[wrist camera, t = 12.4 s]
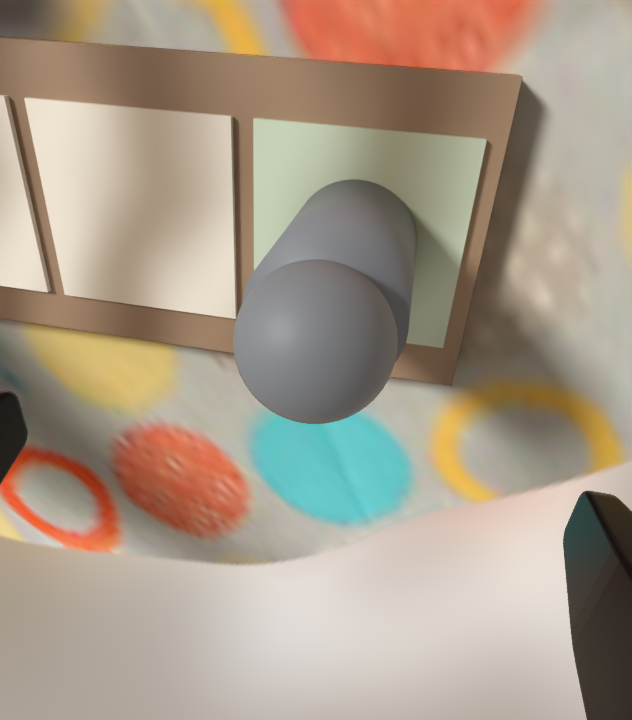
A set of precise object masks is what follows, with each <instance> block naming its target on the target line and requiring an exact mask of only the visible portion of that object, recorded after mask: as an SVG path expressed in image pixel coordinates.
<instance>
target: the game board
mask: <svg viewBox="0 0 632 720" xmlns="http://www.w3.org/2000/svg"><path fill="white" fill-rule="evenodd" d="M521 82H522V76H519V75H515V74H501V73H488V72H474V71H461V70H447V69H434V68H420V67H407V66H393V65H380V64H366V63H353V62H339V61H325V60H312V59H298V58H285V57H271V56H258V55H244V54H231V53H217V52H204V51H190V50H177V49H163V48H150V47H136V46H123V45H109V44H96V43H82V42H69V41H55V40H42V39H28V38H15V37H1V36H0V318H3V319H10V320H16V321H23V322H30V323H36V324H43V325H50V326H56V327H63V328H70V329H76V330H83V331H90V332H96V333H103V334H110V335H116V336H123V337H130V338H136V339H143V340H150V341H156V342H163V343H170V344H176V345H183V346H190V347H197V348H203V349H210V350H217V351H223V352H230V353H234V348H233V336H234V328H235V323H236V319H237V315H238V313H239V310H240V308H241V306H242V304H243V297H244V292H245V288H246V286H247V283H248V280H249V279H250V277H251V275H252V273H253V272H254V270H255V269H256V268H257V266H258V265H259V264H260V262H261V261H262V260H263V258H264V257H265V256H266V254H267V253H268V252H269V250H270V249H271V248H272V247H273V245H274V244H275V243H276V241H277V240H278V239H279V237H280V236H281V235H282V233H283V232H284V231H285V229H286V228H287V227H288V225H289V224H290V223H291V221H292V220H293V219H294V218H295V216H296V215H297V214H298V212H299V211H300V210H301V208H302V207H303V206H304V204H305V203H306V202H307V200H308V199H309V198H310V197H311V196H312V195H313V194H314V193H316V192H317V191H318V190H320V189H321V188H323V187H325V186H327V185H329V184H332V183H334V182H338V181H342V180H350V179H356V180H365V181H370V182H373V183H376V184H379V185H381V186H383V187H385V188H387V189H388V190H390V191H391V192H393V193H394V194H395V195H396V196H397V197H398V198H399V199H400V200H401V201H402V202H403V203H404V204H405V206H406V207H407V209H408V210H409V212H410V214H411V216H412V218H413V221H414V224H415V227H416V232H417V251H416V261H415V271H414V281H413V291H412V301H411V311H410V321H409V331H408V336H407V340H406V344H405V346H404V349H403V351H402V353H401V355H400V356H399V358H398V360H397V361H396V362H395V363H394V367H393V370H392V373H391V375H390V377H397V378H404V379H410V380H417V381H424V382H430V383H437V384H444V385H450V386H452V382H453V378H454V373H455V369H456V365H457V360H458V356H459V352H460V347H461V343H462V338H463V334H464V330H465V325H466V321H467V317H468V312H469V308H470V304H471V299H472V295H473V291H474V286H475V282H476V277H477V273H478V269H479V264H480V260H481V256H482V251H483V247H484V243H485V238H486V234H487V230H488V225H489V221H490V217H491V212H492V208H493V203H494V199H495V195H496V190H497V186H498V182H499V177H500V173H501V169H502V164H503V160H504V156H505V151H506V147H507V143H508V138H509V134H510V129H511V125H512V121H513V116H514V112H515V108H516V103H517V99H518V95H519V90H520V86H521Z"/></svg>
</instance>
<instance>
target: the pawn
mask: <svg viewBox="0 0 632 720" xmlns="http://www.w3.org/2000/svg"><path fill="white" fill-rule="evenodd" d="M416 251H417V232H416V227H415V224H414V221H413V218H412V216H411V214H410V212H409V210H408V209H407V207H406V206H405V204H404V203H403V202H402V201H401V200H400V199H399V198H398V197H397V196H396V195H395V194H394V193H393V192H391V191H390V190H388V189H387V188H385V187H383V186H381V185H379V184H376V183H373V182H370V181H365V180H356V179H350V180H342V181H338V182H334V183H332V184H329V185H327V186H325V187H323V188H321V189H320V190H318V191H317V192H316V193H314V194H313V195H312V196H311V197H310V198H309V199H308V200H307V202H306V203H305V204H304V206H303V207H302V208H301V210H300V211H299V212H298V214H297V215H296V216H295V218H294V219H293V220H292V221H291V223H290V224H289V225H288V227H287V228H286V229H285V231H284V232H283V233H282V235H281V236H280V237H279V239H278V240H277V241H276V243H275V244H274V245H273V247H272V248H271V249H270V250H269V252H268V253H267V254H266V256H265V257H264V258H263V260H262V261H261V262H260V264H259V265H258V266H257V268H256V269H255V270H254V272H253V273H252V275H251V277H250V279H249V280H248V283H247V286H246V288H245V292H244V297H243V304H242V306H241V308H240V310H239V313H238V315H237V319H236V323H235V328H234V336H233V348H234V356H235V360H236V364H237V368H238V370H239V373H240V376H241V378H242V379H243V381H244V383H245V385H246V386H247V388H248V389H249V391H250V392H251V393H252V395H253V396H254V397H255V398H256V399H257V400H258V401H259V402H260V403H261V404H262V405H264V406H265V407H266V408H268V409H269V410H270V411H272V412H274V413H276V414H277V415H280V416H282V417H284V418H286V419H289V420H292V421H296V422H301V423H308V424H323V423H330V422H334V421H339V420H342V419H344V418H347V417H349V416H351V415H353V414H355V413H357V412H359V411H360V410H362V409H363V408H365V407H366V406H367V405H368V404H369V403H371V402H372V401H373V400H374V399H375V398H376V397H377V395H378V394H379V393H380V392H381V391H382V389H383V388H384V386H385V384H386V383H387V381H388V379H389V377H390V375H391V373H392V370H393V367H394V363H395V362H396V361H397V360H398V358H399V356H400V355H401V353H402V351H403V349H404V346H405V344H406V340H407V336H408V331H409V321H410V311H411V301H412V291H413V281H414V271H415V261H416Z"/></svg>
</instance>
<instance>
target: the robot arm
mask: <svg viewBox="0 0 632 720" xmlns="http://www.w3.org/2000/svg"><path fill="white" fill-rule="evenodd" d="M27 432H28V431H27V427H26V423H25V420H24V416H23V413H22V409H21V406H20V402H19V399H18V397H17V396H16V395H15V394H14V393H12V392H10V391H5V390H0V484H1V483H2V481H3V479H4V478H5V476H6V474H7V473H8V471H9V470H10V468H11V466H12V465H13V463H14V461H15V460H16V458H17V457H18V455H19V453H20V452H21V450H22V449H23V447H24V445H25V443H26V440H27ZM563 547H564V558H565V570H566V581H567V593H568V604H569V615H570V625H571V626H570V627H571V635H572V645H573V651H574V657H575V663H576V668H577V673H578V677H579V683H580V688H581V692H582V697H583V702H584V707H585V712H586V717H587V720H632V511H630V509H629V508H628V507H627V506H626V505H625V504H623V503H622V501H621V500H619V499H618V498H617V497H616V496H614V495H611V494H605V493H600V492H593V491H585V492H583V493H582V494H581V495H580V497H579V498H578V501H577V503H576V505H575V508H574V510H573V512H572V514H571V517H570V519H569V521H568V524H567V526H566V528H565V532H564V539H563Z"/></svg>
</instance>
